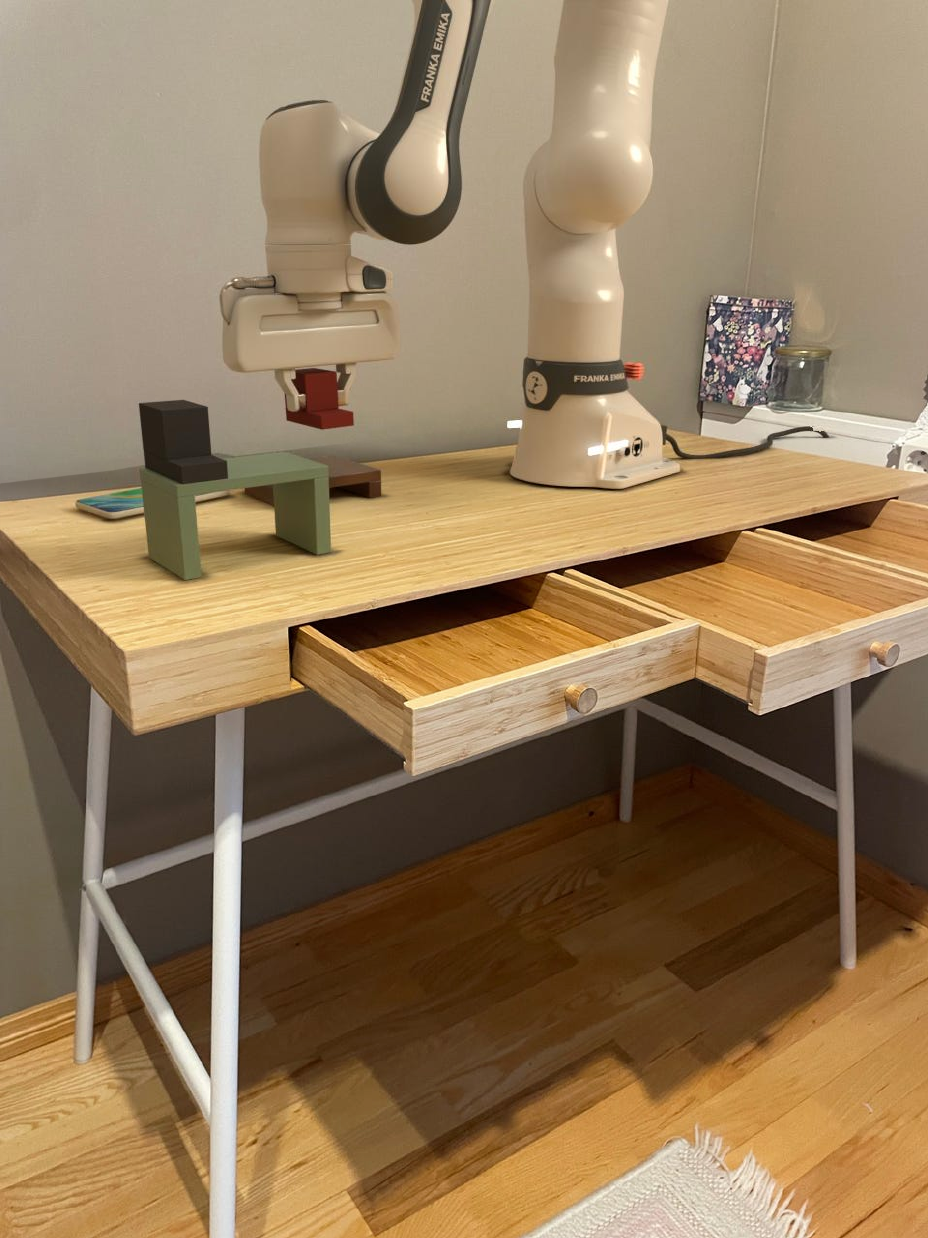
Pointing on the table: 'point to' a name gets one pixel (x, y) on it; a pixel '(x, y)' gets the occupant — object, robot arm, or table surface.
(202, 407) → the dark stepped block
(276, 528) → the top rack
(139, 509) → the smartphone
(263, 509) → the table surface
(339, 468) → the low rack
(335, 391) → the red l-shaped step block
